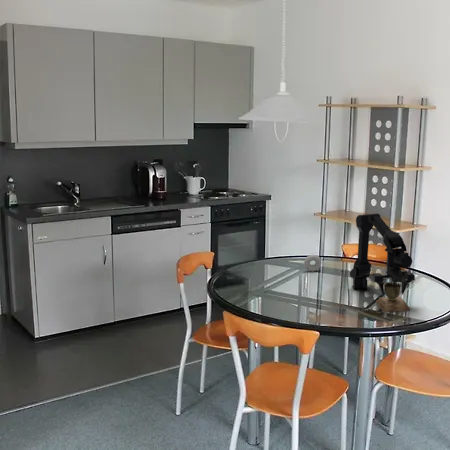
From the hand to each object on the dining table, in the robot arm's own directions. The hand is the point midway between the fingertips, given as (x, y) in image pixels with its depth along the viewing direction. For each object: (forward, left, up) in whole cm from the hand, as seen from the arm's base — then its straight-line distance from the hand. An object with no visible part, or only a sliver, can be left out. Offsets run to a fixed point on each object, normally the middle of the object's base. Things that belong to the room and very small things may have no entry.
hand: (392, 294), depth 270 cm
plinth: (0, 0, -6) cm, 6 cm away
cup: (0, 0, -3) cm, 3 cm away
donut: (-26, +61, -6) cm, 67 cm away
